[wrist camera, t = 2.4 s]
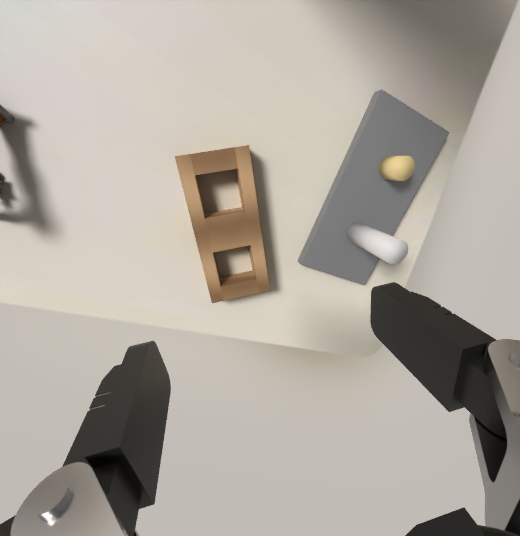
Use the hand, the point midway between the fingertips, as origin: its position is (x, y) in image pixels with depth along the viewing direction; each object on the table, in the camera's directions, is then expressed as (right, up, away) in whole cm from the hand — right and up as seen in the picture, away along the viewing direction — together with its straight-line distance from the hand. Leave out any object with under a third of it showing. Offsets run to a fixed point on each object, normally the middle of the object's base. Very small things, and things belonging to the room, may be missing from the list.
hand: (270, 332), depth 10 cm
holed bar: (-3, +6, +14) cm, 16 cm away
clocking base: (+10, +9, +16) cm, 21 cm away
